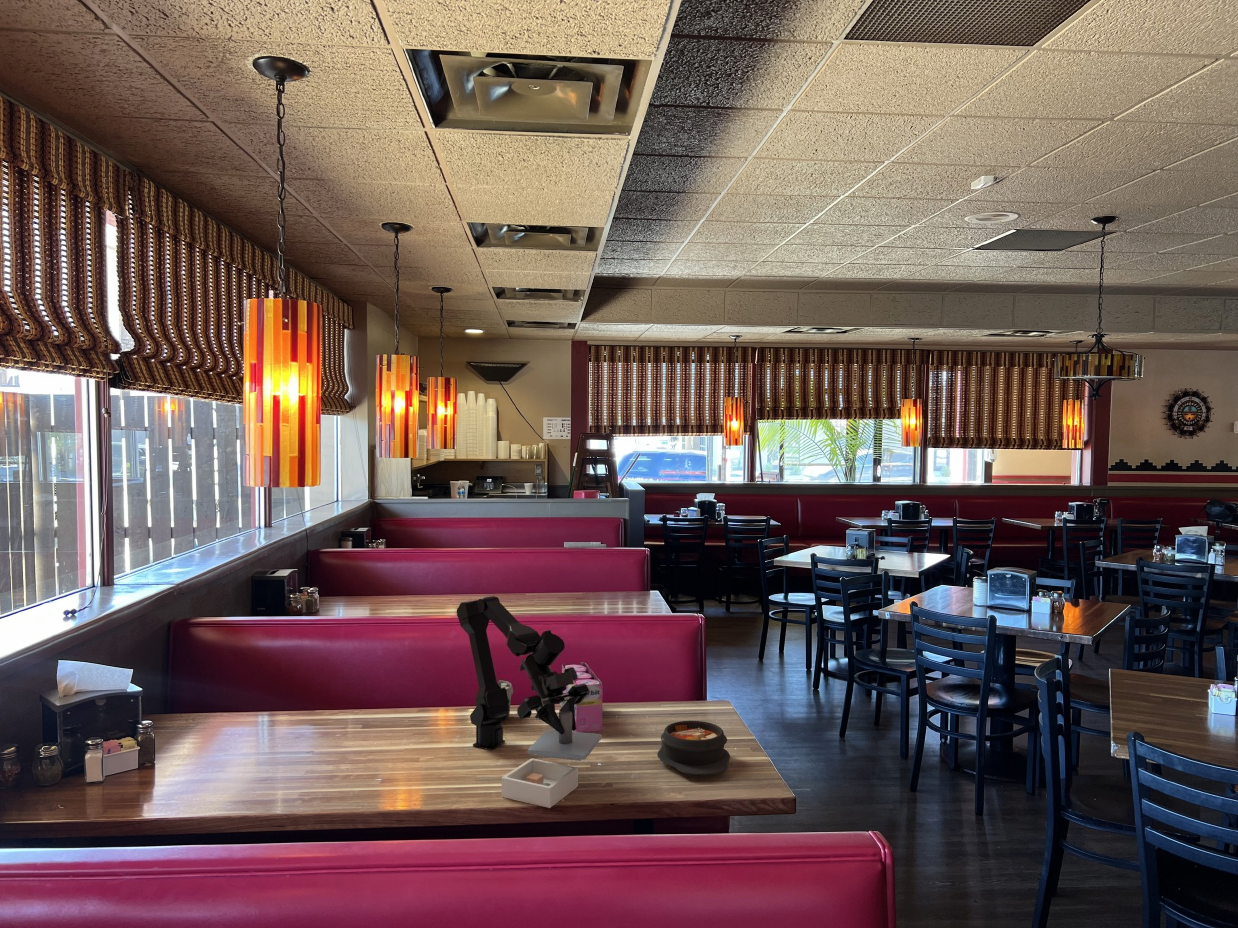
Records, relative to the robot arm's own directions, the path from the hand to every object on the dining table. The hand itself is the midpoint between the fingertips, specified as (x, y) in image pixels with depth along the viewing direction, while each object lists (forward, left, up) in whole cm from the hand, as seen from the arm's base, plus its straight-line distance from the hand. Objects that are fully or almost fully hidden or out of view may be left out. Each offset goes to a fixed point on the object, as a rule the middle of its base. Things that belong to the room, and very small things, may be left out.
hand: (569, 731), depth 200 cm
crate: (-4, -6, -13) cm, 15 cm away
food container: (-40, +31, -13) cm, 53 cm away
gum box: (-20, +43, -13) cm, 49 cm away
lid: (-1, +1, -4) cm, 4 cm away
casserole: (+21, +27, -13) cm, 37 cm away
